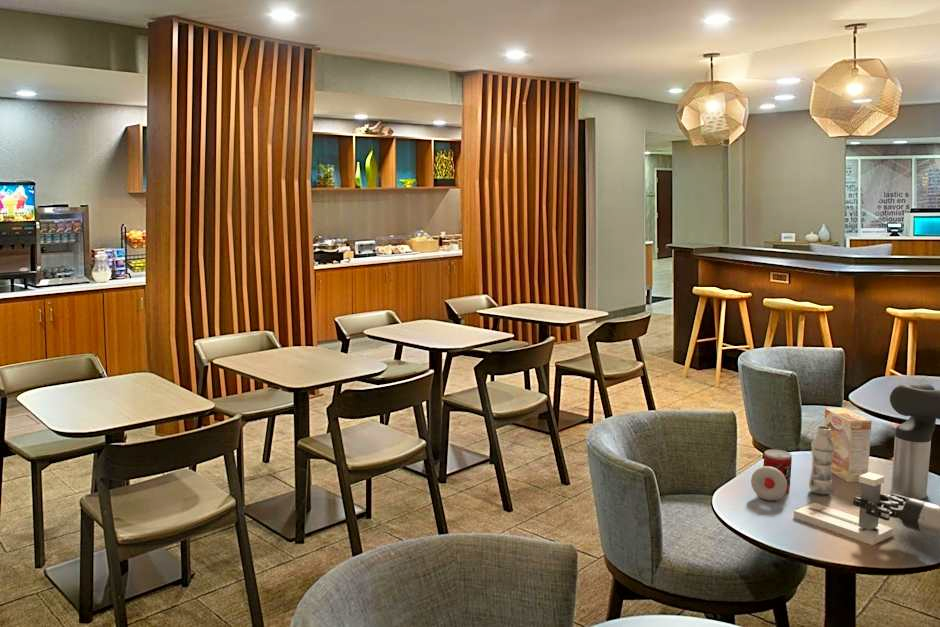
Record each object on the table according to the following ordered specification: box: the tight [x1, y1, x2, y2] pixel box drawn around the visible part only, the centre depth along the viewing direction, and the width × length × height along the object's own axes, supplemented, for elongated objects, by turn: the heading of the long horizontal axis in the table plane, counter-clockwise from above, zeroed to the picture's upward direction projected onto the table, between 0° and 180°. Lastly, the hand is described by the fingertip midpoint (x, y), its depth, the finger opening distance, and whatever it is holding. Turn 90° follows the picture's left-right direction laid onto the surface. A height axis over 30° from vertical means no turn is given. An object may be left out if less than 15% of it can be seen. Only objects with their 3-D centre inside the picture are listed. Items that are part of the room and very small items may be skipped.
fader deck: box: [793, 502, 894, 546], centre depth 216 cm, size 10×22×2 cm, turn 36°
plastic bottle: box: [808, 425, 835, 495], centre depth 239 cm, size 6×7×20 cm
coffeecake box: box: [823, 407, 873, 483], centre depth 256 cm, size 15×7×20 cm, turn 6°
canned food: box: [762, 449, 793, 493], centre depth 244 cm, size 8×8×11 cm
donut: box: [750, 465, 787, 501], centre depth 235 cm, size 10×4×10 cm, turn 57°
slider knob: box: [858, 471, 886, 530], centre depth 210 cm, size 5×4×14 cm
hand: (861, 497), depth 211 cm, fingers open, 7 cm apart
